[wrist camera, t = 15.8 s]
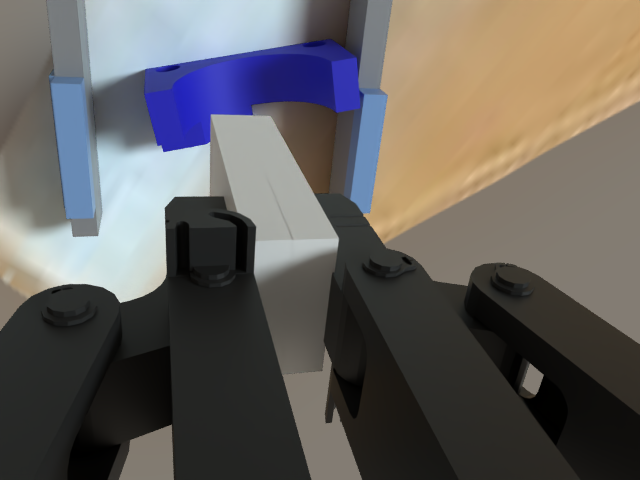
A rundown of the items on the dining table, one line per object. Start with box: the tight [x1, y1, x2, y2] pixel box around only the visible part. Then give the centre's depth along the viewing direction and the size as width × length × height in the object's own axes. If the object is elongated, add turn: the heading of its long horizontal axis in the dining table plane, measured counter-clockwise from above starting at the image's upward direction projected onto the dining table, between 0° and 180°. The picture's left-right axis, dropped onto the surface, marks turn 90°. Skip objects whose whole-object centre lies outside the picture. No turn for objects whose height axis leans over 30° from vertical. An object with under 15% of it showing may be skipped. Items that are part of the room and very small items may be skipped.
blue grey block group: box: [46, 0, 392, 237], centre depth 35 cm, size 23×19×5 cm
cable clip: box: [144, 39, 360, 152], centre depth 36 cm, size 12×4×6 cm, turn 96°
